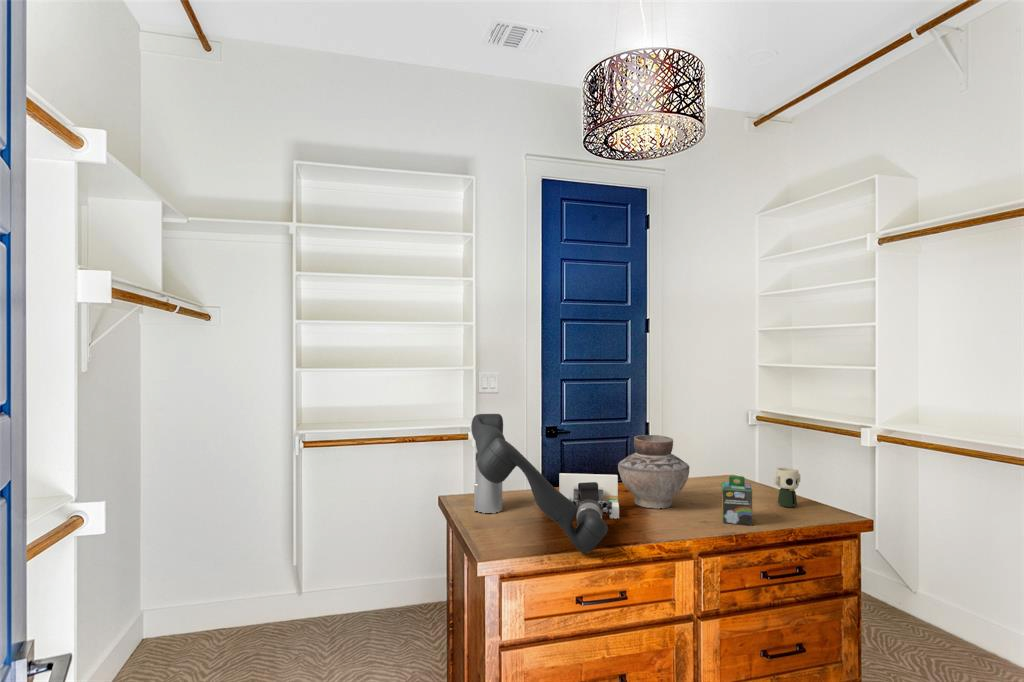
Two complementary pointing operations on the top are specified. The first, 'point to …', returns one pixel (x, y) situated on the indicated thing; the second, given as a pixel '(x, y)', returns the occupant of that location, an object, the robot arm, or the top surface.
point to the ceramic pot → (653, 472)
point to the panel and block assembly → (604, 481)
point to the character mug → (787, 485)
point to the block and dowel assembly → (600, 493)
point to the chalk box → (737, 501)
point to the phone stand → (588, 491)
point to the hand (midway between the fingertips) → (589, 500)
